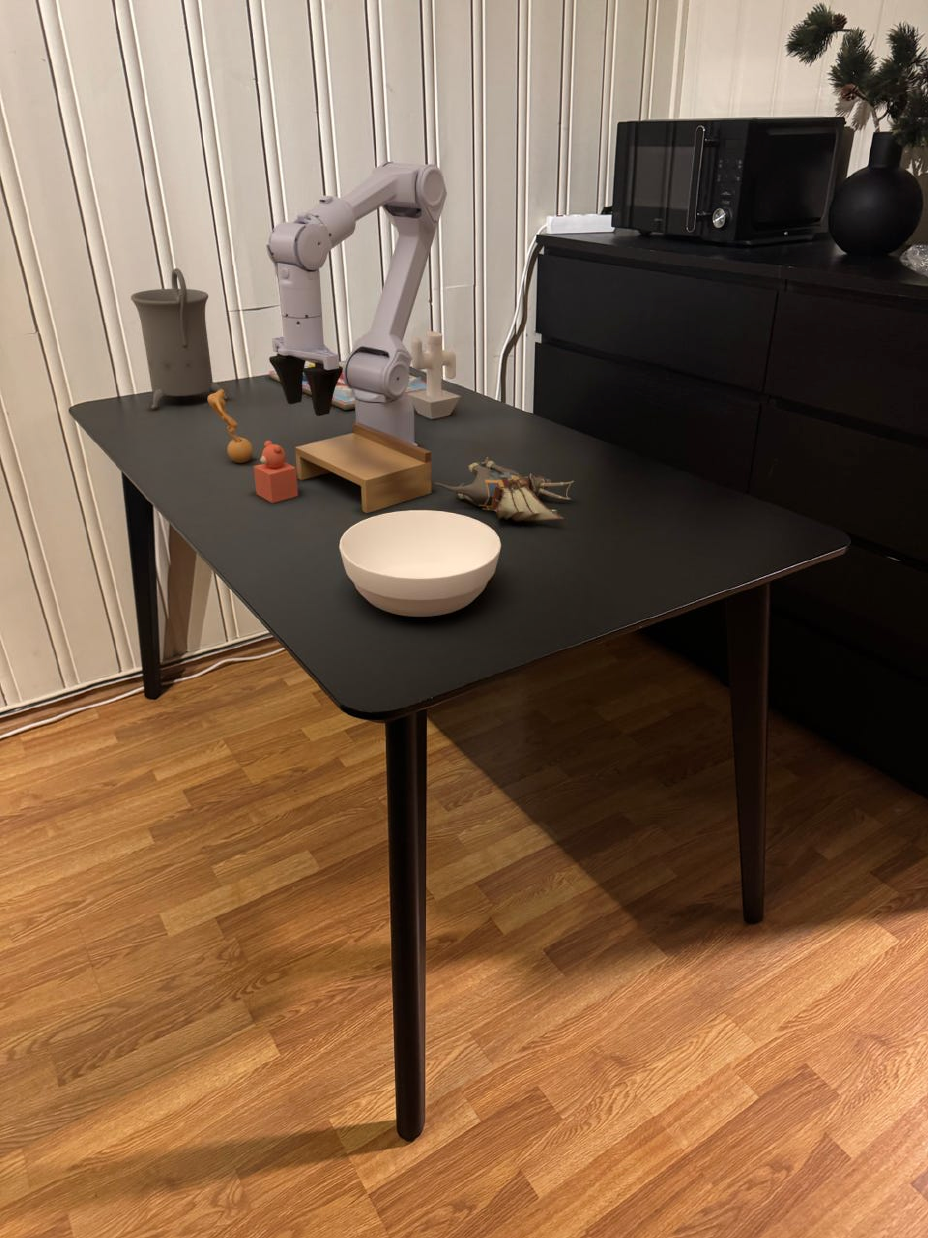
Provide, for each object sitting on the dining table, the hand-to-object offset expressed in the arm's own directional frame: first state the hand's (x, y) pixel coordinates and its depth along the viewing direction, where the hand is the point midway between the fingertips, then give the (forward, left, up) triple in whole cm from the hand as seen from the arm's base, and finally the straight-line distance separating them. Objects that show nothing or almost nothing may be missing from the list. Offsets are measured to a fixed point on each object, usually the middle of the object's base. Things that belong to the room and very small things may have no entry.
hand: (308, 408), depth 131 cm
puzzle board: (-35, -38, -11) cm, 53 cm away
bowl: (+13, +42, -11) cm, 45 cm away
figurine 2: (-35, -12, -11) cm, 39 cm away
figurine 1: (+7, -12, -11) cm, 17 cm away
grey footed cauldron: (-3, -49, -11) cm, 50 cm away
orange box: (+9, +4, -10) cm, 14 cm away
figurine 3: (-13, +31, -11) cm, 35 cm away
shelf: (-3, +9, -10) cm, 14 cm away
